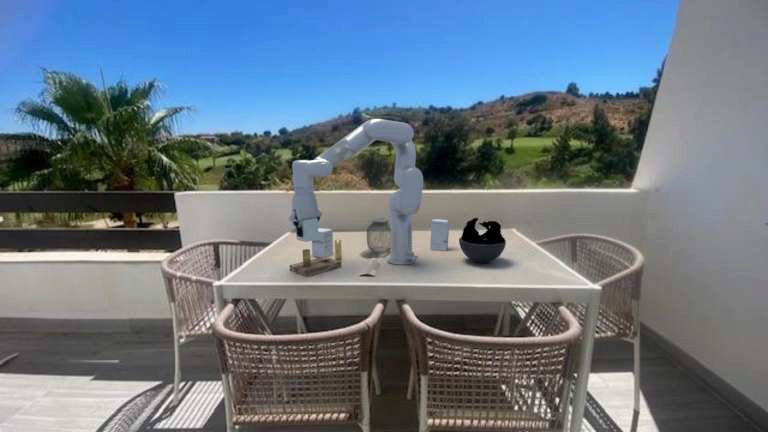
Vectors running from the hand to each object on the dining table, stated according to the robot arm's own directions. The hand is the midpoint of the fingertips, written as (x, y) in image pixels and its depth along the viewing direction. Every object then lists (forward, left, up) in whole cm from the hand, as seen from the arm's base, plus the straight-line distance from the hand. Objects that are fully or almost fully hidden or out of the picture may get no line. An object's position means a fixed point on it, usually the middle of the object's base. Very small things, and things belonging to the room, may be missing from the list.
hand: (307, 234), depth 158 cm
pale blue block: (0, 0, -2) cm, 2 cm away
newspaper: (-16, -21, -17) cm, 31 cm away
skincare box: (-19, -66, -16) cm, 70 cm away
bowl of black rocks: (-46, -60, -16) cm, 77 cm away
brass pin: (+4, -19, -16) cm, 25 cm away
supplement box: (+15, -19, -16) cm, 29 cm away
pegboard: (0, -4, -16) cm, 16 cm away
